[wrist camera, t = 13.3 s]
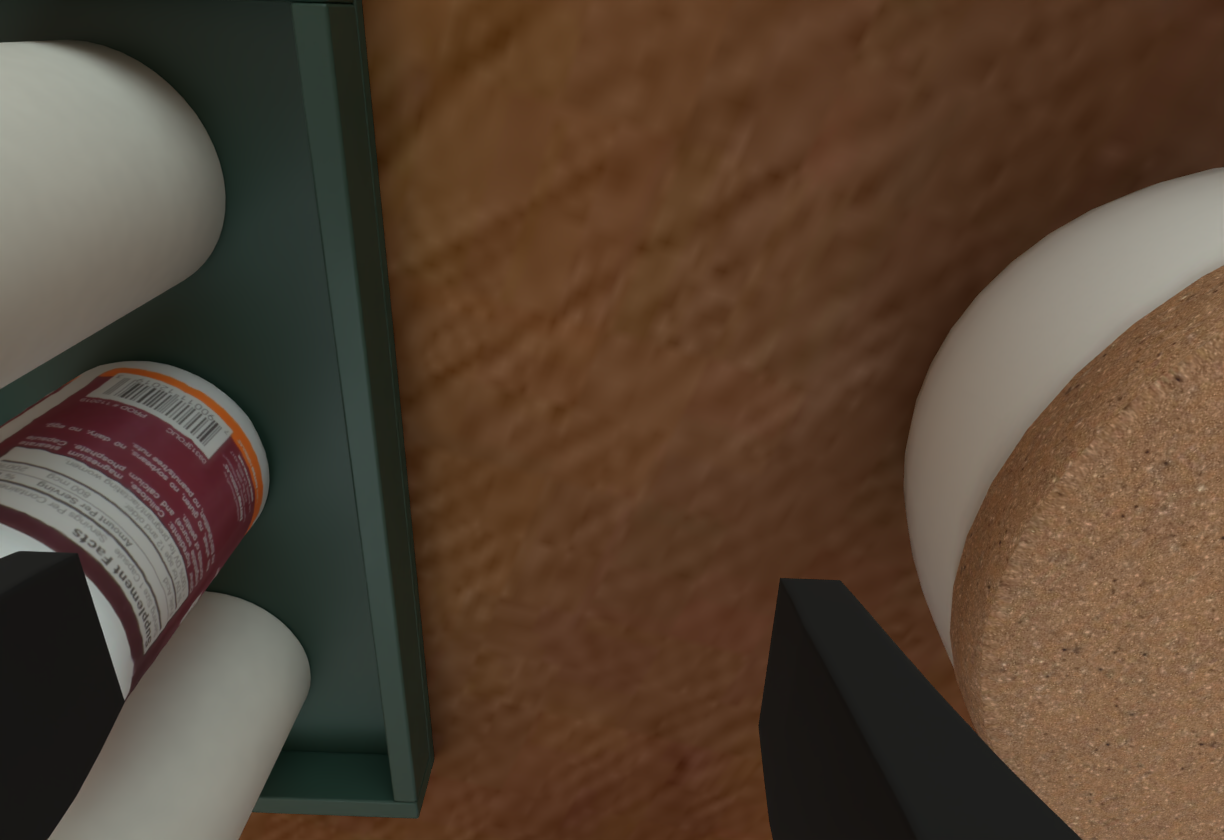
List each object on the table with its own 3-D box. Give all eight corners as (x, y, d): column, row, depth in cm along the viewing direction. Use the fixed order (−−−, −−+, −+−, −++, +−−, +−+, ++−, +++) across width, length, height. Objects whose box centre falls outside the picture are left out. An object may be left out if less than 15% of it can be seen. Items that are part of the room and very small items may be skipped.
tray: (434, 758, 23) (418, 819, 21) (67, 745, 23) (22, 804, 21) (359, -35, 14) (321, -42, 12) (-228, -54, 14) (-345, -63, 13)
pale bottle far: (322, 732, 22) (170, 1085, 15) (150, 725, 22) (-88, 1075, 15) (298, 593, 20) (107, 923, 13) (107, 585, 20) (-193, 912, 13)
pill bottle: (129, 563, 19) (-191, 910, 12) (13, 385, 17) (-459, 666, 10) (313, 520, 19) (99, 858, 11) (215, 329, 17) (-127, 586, 9)
